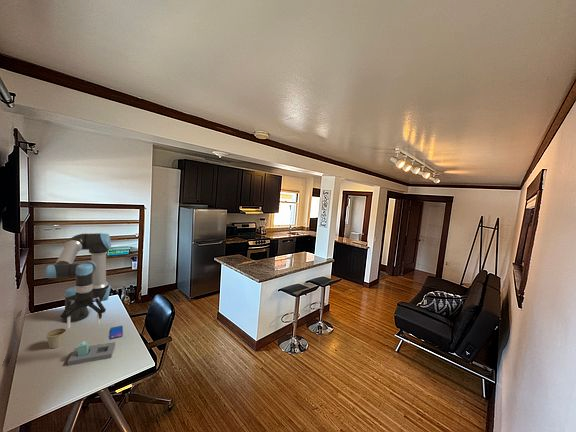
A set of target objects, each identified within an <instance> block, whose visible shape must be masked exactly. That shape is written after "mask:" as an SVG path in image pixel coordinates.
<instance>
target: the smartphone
mask: <svg viewBox="0 0 576 432" xmlns="http://www.w3.org/2000/svg"><path fill="white" fill-rule="evenodd" d="M123 329H124V328H123V325H119V326H112V327H110V329H109V340H114V339H118V338H122V337H123V336H124V335H123V332H124V331H123Z"/></svg>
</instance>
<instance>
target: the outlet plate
mask: <svg viewBox="0 0 576 432" xmlns="http://www.w3.org/2000/svg"><path fill="white" fill-rule="evenodd" d="M115 347H116V341H113V342H108V343H101V344H96V345H95V344H94V345H89V353H88V355H83V356H78V347H76V348H74V350H73V351H72V353H71V355H70V357H69V358H68V360H67V366H73V365H79V364H83V363H84V364H85V363H90V362H91V363H92V362H95V361H100V360H107V359H111V358H112V357H113V353H114V350H115Z"/></svg>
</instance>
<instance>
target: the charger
mask: <svg viewBox="0 0 576 432" xmlns="http://www.w3.org/2000/svg"><path fill="white" fill-rule="evenodd" d="M89 342H90V341H89V340H87V341H81V342H79V344H78V346H77V348H78V356H83V355H88V353H89V346H90V343H89Z"/></svg>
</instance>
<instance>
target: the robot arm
mask: <svg viewBox="0 0 576 432" xmlns="http://www.w3.org/2000/svg"><path fill="white" fill-rule="evenodd" d="M111 249H112V242H111V236H110V234H109V233H104V232H103V233H101V232H99V233H97V232H96V233H79V234H76V235H74V236H72V237H70V238H68V239H67V240H66V241H65V243H64V244H63V249H62V251H61V253H60V255H59V256H58V258H57V259H56V261H55V263H54V264H49V265H47V266H46V267H45V272H44V274H45V278H46V279H60V278H70V277H71V278H72V277H73V278H74V277H75V285H74V286H71V287H69V288H67V289H66V290H65V294H64V310H63V312H62V313H61V315H60V318H61V321H62V322H63V323H65V324H66V330H69V329H70V328H71V325H72V324H71V323H74V322H75V323H76V322H79V321H82V320H85V319H86V318H87V317H89V314H90V312H89V310H88V307H89V308H90V309H92V310H93V311H94V312H95V313H97V314H96V326H100V321H101V319H102V318H103V314H105V313H106V310H107V309H106V308H105V306H104V305H103V303H102V302H106V301H108V300H109V298H110V293H111V289H112V287H111V284H109V282H108V281H107V253H108V252H109V250H111ZM82 250H83V251H84V250H85V251H87V250H88V253H89V254H91V260H87V261H85V262H81V263H80V262H79V263H74V261H75V259H76V257H77V255H78V253H79V252H80V251H82ZM95 303H96V305H95Z"/></svg>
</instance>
